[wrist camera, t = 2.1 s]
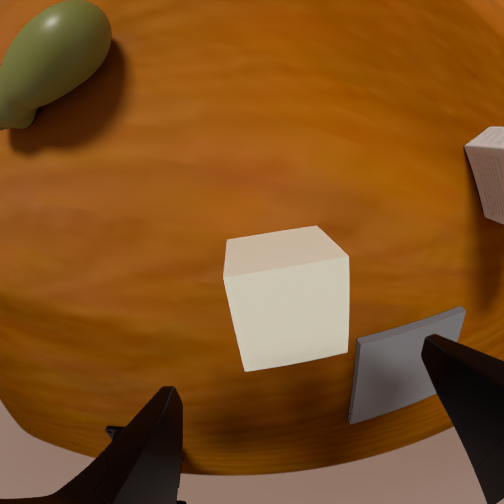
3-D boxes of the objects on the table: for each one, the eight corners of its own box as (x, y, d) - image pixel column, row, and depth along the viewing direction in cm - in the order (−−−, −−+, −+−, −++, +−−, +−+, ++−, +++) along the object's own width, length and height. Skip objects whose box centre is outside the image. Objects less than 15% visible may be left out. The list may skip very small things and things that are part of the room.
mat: (347, 418, 22) (350, 424, 21) (356, 338, 18) (360, 345, 18) (435, 387, 22) (439, 391, 21) (460, 306, 18) (465, 310, 17)
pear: (76, 45, 7) (-29, 160, 9) (137, 65, 12) (28, 146, 14) (66, -30, 5) (-37, 87, 7) (118, -1, 10) (16, 84, 12)
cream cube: (242, 316, 17) (244, 371, 13) (227, 239, 16) (223, 277, 11) (321, 302, 17) (347, 352, 12) (316, 225, 16) (348, 256, 11)
